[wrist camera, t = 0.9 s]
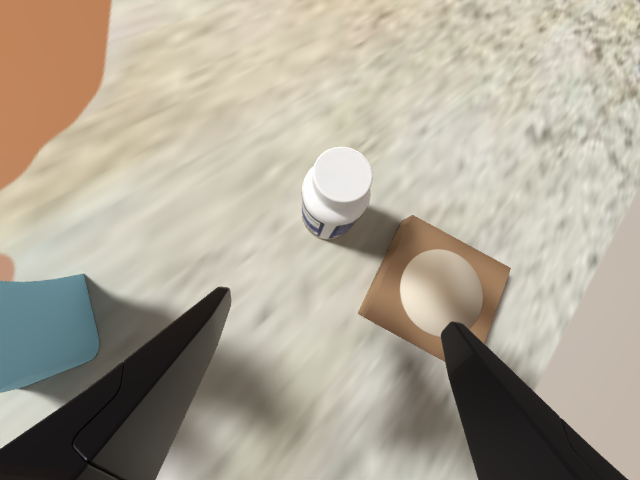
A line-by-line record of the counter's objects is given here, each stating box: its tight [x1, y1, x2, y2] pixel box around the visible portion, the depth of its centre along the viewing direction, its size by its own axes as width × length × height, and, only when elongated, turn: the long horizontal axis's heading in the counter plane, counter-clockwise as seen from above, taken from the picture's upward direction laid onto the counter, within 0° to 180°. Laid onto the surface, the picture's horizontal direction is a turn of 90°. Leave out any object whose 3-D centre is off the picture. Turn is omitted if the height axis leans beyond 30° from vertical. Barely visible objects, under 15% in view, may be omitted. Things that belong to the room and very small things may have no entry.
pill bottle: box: [302, 147, 373, 239], centre depth 19 cm, size 5×5×10 cm
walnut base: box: [358, 215, 511, 361], centre depth 22 cm, size 11×11×3 cm
